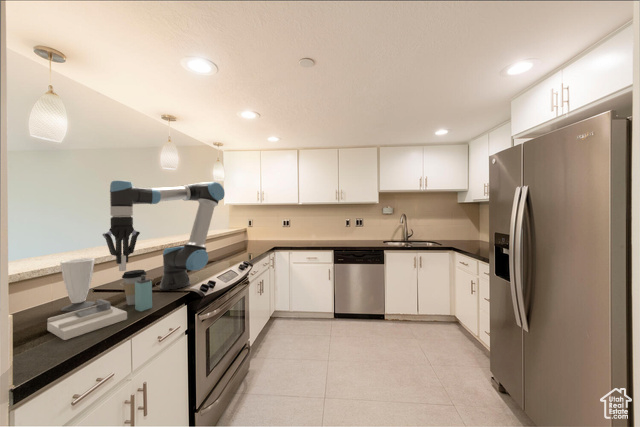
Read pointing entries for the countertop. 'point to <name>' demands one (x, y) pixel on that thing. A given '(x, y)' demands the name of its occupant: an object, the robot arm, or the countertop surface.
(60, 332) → the socket plate
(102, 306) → the shutter
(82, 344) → the countertop surface
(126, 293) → the coffee cup
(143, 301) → the teal bottle
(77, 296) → the cup
